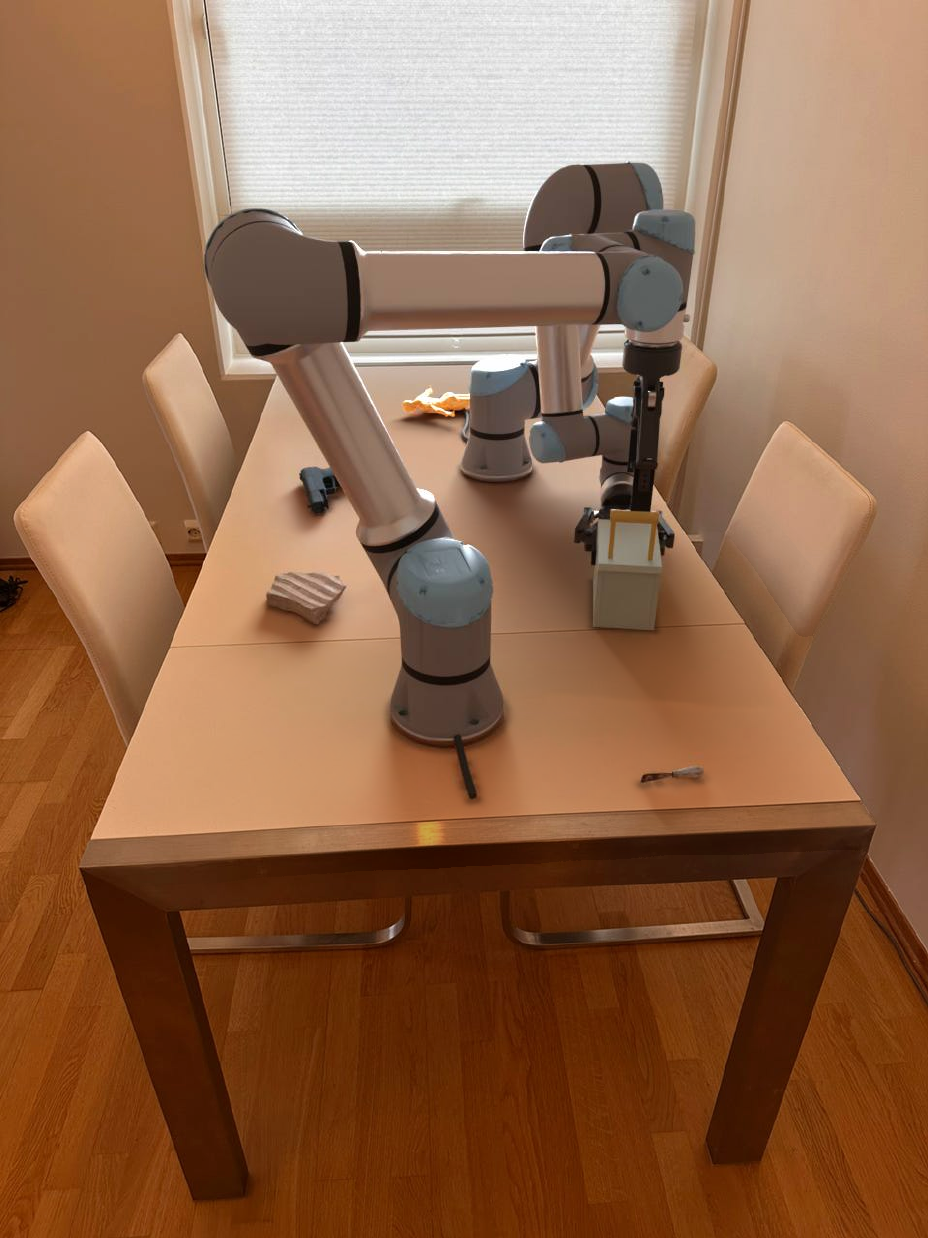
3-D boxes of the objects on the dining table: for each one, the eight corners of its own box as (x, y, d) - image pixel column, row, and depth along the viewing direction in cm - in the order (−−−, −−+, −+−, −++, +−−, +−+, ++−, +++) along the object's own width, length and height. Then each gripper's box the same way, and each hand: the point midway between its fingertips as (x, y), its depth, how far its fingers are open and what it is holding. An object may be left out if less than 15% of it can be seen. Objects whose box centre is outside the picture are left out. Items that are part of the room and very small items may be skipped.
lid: (661, 574, 132) (668, 519, 127) (598, 570, 133) (602, 515, 128) (655, 528, 145) (661, 476, 140) (597, 525, 146) (601, 474, 141)
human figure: (395, 413, 223) (394, 398, 221) (438, 390, 237) (438, 375, 235) (462, 429, 215) (462, 413, 213) (502, 404, 229) (503, 388, 227)
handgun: (369, 509, 176) (308, 516, 174) (354, 474, 190) (298, 480, 188) (368, 494, 174) (307, 501, 172) (353, 460, 189) (296, 466, 186)
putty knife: (703, 777, 109) (705, 767, 109) (642, 788, 108) (644, 777, 107) (700, 772, 110) (702, 762, 109) (639, 782, 109) (640, 771, 108)
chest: (653, 630, 138) (661, 572, 133) (593, 627, 139) (598, 568, 134) (648, 584, 150) (655, 528, 145) (593, 581, 151) (597, 525, 146)
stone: (356, 590, 149) (354, 577, 147) (319, 626, 139) (317, 612, 138) (289, 576, 153) (287, 563, 152) (249, 610, 144) (247, 596, 142)
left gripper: (691, 368, 106) (671, 530, 117) (675, 317, 127) (659, 458, 138) (627, 367, 107) (613, 527, 118) (621, 316, 127) (610, 456, 139)
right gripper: (680, 523, 164) (691, 583, 145) (559, 517, 166) (555, 576, 147) (685, 485, 160) (697, 542, 141) (562, 480, 162) (557, 535, 143)
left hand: (638, 490), depth 128 cm, fingers open, 13 cm apart
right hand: (625, 559), depth 144 cm, fingers closed on chest, 9 cm apart
